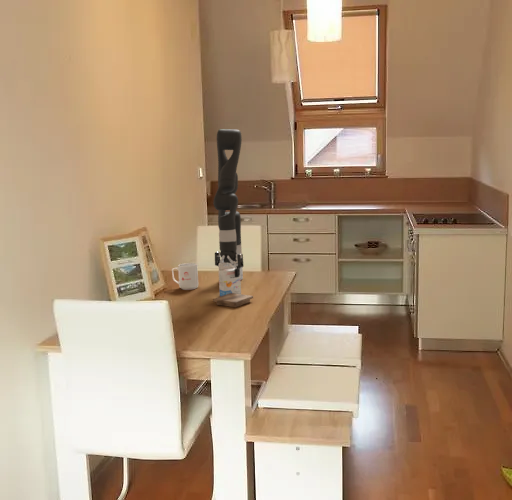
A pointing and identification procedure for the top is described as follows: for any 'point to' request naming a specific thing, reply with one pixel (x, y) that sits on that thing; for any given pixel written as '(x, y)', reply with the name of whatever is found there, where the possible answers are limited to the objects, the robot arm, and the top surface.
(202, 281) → the top surface
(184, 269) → the mug
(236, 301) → the stand
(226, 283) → the ink box
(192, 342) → the top surface
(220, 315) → the top surface
